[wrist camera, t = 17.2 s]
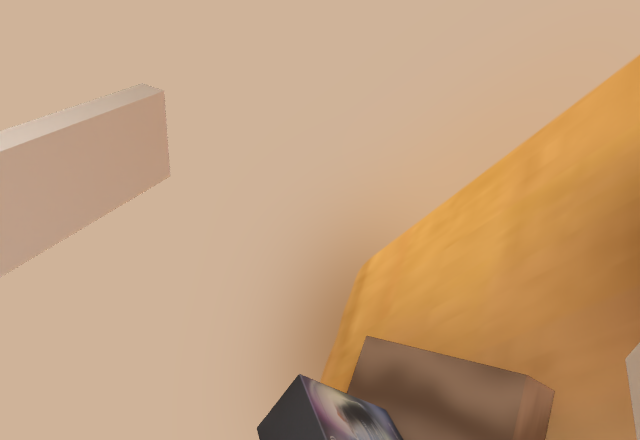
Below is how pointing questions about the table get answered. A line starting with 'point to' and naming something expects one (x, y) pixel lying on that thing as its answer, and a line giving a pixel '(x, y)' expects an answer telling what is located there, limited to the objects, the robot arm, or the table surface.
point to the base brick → (449, 395)
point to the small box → (325, 416)
